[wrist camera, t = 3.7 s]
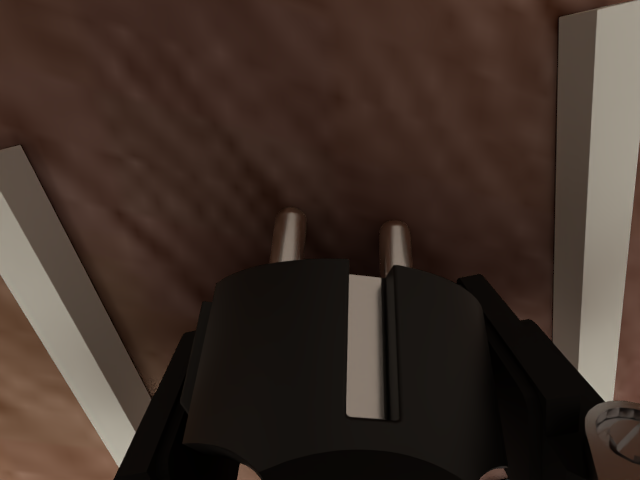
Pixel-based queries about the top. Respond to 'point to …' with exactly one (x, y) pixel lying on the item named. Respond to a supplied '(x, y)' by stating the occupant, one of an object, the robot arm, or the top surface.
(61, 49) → the top surface
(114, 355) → the blue cream pronged frame
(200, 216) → the top surface
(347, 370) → the power plug
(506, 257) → the top surface
